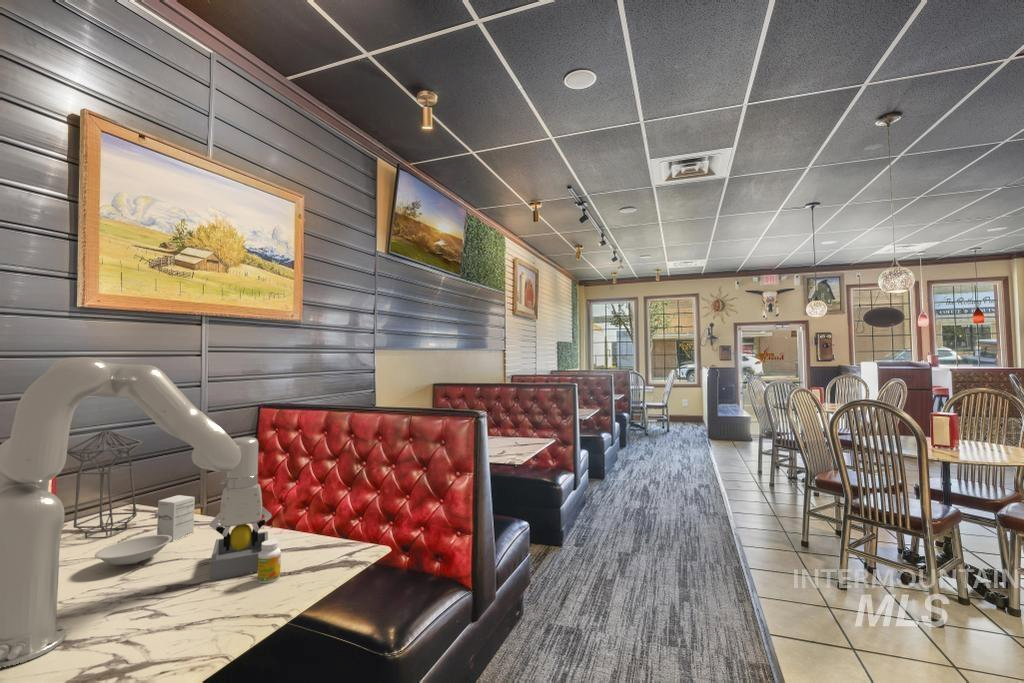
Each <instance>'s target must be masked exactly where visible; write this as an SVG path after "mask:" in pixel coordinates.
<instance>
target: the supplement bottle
mask: <svg viewBox="0 0 1024 683" xmlns="http://www.w3.org/2000/svg"><path fill="white" fill-rule="evenodd" d="M261 549H262V551H260V552H259V554H258V572H257V582H258V583H260V584H271V583H273V582H276V581H277V580H279V579H280V577H281V561H282V560H281V558H282V556H281V554H282V551H281V548H279V540H278V539H268V540H267V541H264V542H262V544H261Z"/></svg>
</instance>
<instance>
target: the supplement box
mask: <svg viewBox="0 0 1024 683" xmlns="http://www.w3.org/2000/svg"><path fill="white" fill-rule="evenodd" d="M195 497H196V496H191V495H190V496H189V495H182V494H181V495H180V494H177V495H174V496H171V497H167V498H164V499H160V500H158V501H157V503H158V506H157V522H156V524H157V526H156V535H169V536H171V537H172V540H171V541H170V542H174V541H173V540H176V539H178V538H181V537H183V536H186V535H188V534H190V533H193V534H194V529H195V523H194V522H195V500H196V498H195ZM181 539H182V538H181ZM178 540H179V539H178ZM176 541H177V540H176Z"/></svg>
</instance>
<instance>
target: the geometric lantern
mask: <svg viewBox="0 0 1024 683" xmlns="http://www.w3.org/2000/svg"><path fill="white" fill-rule="evenodd" d="M124 439H127V440H129V441H133V442H128V441H126V440H124ZM91 440H92V441H91ZM89 441H91V442H90V443H89V444H87V445H86V446H85V447H84V448H82V449H81V448H80V449H77V447H79V446H81V445H83V444H85V443H87V442H89ZM100 441H101V442H100ZM99 442H100V443H99ZM143 443H145V442H144V441H142V440H139V439H136V438H135V437H134V438H133V437H130V436H127V435H125V434H122V433H119V432H116V431H113V430H110V429H109V430H103V431H101V432H99V433H97V434H95V435H93V436H91V437H89V438H87V439H85V440H84V441H82V442H80V443H78V444H76V445H75V446H73V447H70V448H67V455H69V456H70V457H72V458H74V459H75V460H77V461H79V462H81V463H80V466H79V467H78V472H77V474H76V485H75V486H76V487H75V506H74V517H73V525H72V526H73V528H74V529H78V530H79V531H81V532H84V538H86V539H102V538H103V539H109V538H112V537H114V536H116V535H118V534H120V533H123V532H125V531H128V530H127V529H128V523H130V522H131V521H132V520H134V518H135V517H137V516H138V515H137V514H138V513H137V507H136V499H135V498H136V497H135V483H134V482H135V481H134V468H133V467H134V464H133V463H132V459H131V453H132V452H133V451H135V450H136V449H137V448H138V447H139V446H141V445H142V444H143ZM107 445H108V446H109V447H110V448H109V449H107ZM101 446H102V449H101V450H99V448H100V447H101ZM119 446H120V447H119ZM90 447H91V448H90ZM75 448H76V449H75ZM124 449H127V450H126V451H124ZM115 451H117V452H118V453H116V452H115ZM104 452H110V453H112V454H113V455H114V456H115V457H114V459H113V460H112V462H111V463H110V465H103V464H102V463H101V462H100V461H99V460H98V459H97V457H98V456H100V454H102V453H104ZM124 457H127V461H128V464H118V465H115V463H116V462H117V461H118V459H120V458H124ZM86 458H88V459H86ZM93 459H94V460H95V461H96V462H98V464H99V465H101V466H100V467H99V466H98V465H97V464H96V462H94V460H93ZM85 462H91V463H92V464H93V466H94V467H95V468H92V469H86V470H84V471H83V467H84V463H85ZM113 467H123V468H119V469H115V470H112V469H111V468H113ZM106 468H108V469H107V471H105V469H106ZM126 469H129V478H130V483H131V486H130V487H131V494H132V512H113V508H112V506H113V504H112V473H115V472H118V471H121V470H126ZM93 470H94V471H95V470H98V471H99V472H92V471H93ZM90 471H91V472H90ZM82 475H100V476H99V478H100V479H99V480H100V482H99V483H100V486H99V488H100V489H99V491H100V493H99V515H97V516H94V517H92V518H89V519H87V520H84V521H81V522H78V521H77V520H78V505H79V497H80V488H81V478H82ZM105 475H107V486H108V487H107V488H108V489H107V490H108V503H109V513H103V495H104V494H103V493H104V480H105V478H104V477H105ZM113 515H114V516H115V515H117V516H118V515H131V516H128V517H125V518H123V519H120V520H117V521H114V520H113V519H114V518H113ZM104 516H106V517H107V516H108V518H107V520H106V522H105V523H104V521H103V517H104ZM98 518H99V525H94V526H93V525H83V524H85V523H88V522H90V521H93V520H95V519H98ZM109 520H110V522H109ZM116 524H119V525H117V526H116V527H113V526H114V525H116ZM81 525H82V526H81ZM109 526H110V527H109ZM123 526H124V527H123ZM85 529H87V530H85ZM94 529H99V530H94ZM113 530H120V531H118V532H116V533H114V534H113ZM108 532H110V535H108ZM88 533H90V534H88ZM97 533H105V536H92V535H94V534H97Z"/></svg>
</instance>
